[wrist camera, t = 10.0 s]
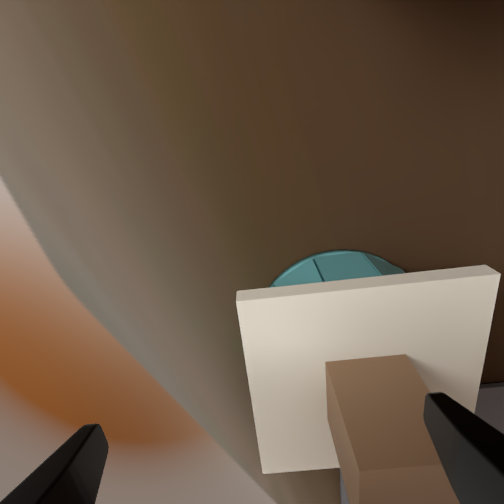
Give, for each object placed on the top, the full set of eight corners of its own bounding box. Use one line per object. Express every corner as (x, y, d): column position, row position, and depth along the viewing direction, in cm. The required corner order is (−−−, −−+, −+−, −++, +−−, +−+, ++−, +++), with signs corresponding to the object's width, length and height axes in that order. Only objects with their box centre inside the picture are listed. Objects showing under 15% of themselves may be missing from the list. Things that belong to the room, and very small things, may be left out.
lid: (485, 264, 15) (637, 356, 9) (455, 441, 20) (545, 580, 14) (236, 291, 16) (228, 394, 10) (262, 457, 20) (267, 599, 14)
